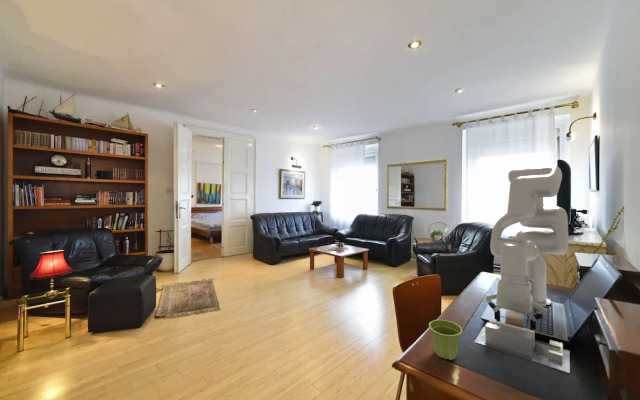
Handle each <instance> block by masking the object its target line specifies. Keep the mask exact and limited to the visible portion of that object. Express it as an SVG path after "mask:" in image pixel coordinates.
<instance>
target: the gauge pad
mask: <svg viewBox="0 0 640 400" xmlns="http://www.w3.org/2000/svg"><path fill="white" fill-rule="evenodd" d="M488 323H491V324H495V325H498V326H502V327H506V328H509V329H513V330H517V331H520V332H524V333H528V334H531V335H533V348H535V342H537V343H541V344H544V345H548V346H551V347H555V348H558V349H560V347H559V346H555V345H552V344H550V343H547V342H544V341H541V340H538V339H537V340H536V339H535V338H536V337H535V331H536V330H534V331H533V330H530V328H525V327H524V328H521V327H518V326H514V325H510V324H506V323H505V322H502V321H500V322H499V321H496V319H491V318H490V319H489V320H488Z"/></svg>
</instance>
